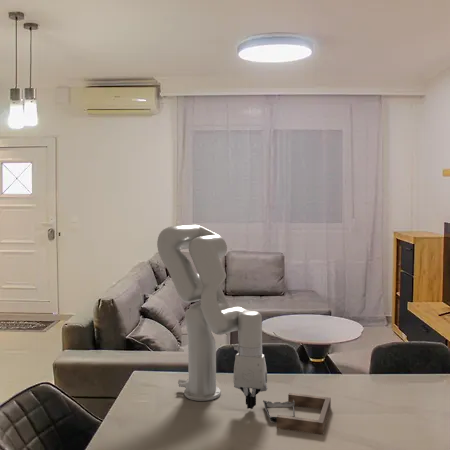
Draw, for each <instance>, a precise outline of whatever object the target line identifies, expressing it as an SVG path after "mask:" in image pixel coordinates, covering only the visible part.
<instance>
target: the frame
mask: <svg viewBox="0 0 450 450" xmlns="http://www.w3.org/2000/svg"><path fill="white" fill-rule="evenodd" d="M287 397H288V398H287V401H288V402H291V403H293V400H294V407H295V406H296V407H300V408H301V407H303V408H310V409H318V410H321V411H320V414H319V417H318V419H314V418H313V419H311V418H307V417H306V418H305V417H299V416H298V417H297V416H295V417H291V416H292V415H282V414H277V416H276V417H277V423H276V429H278V430H279V429H280V430H286V431H293V432H300V433H307V434H314V435H322V436H323V435H324V432H325V428H326V426H327V422H328V420H329V419H328V418H329V415H330V412H331V409H332V407H331V405H332V404H331V401H332V399H331V397H329V396H320V395H310V394H302V393H293V392H288V395H287Z"/></svg>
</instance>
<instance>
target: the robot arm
mask: <svg viewBox="0 0 450 450" xmlns="http://www.w3.org/2000/svg"><path fill="white" fill-rule="evenodd" d="M156 248H157V252H158V255H159V257H160V260H161V261H162V262H163V264H164V266H165V267H166V269H167V271H168V273H169V276H170V278H171V281H172V283H173V285H174V288H175V290H176V292H177V295H178V296H179V299H180V300H181V301H182V302H184V303H187V304H188V303H189V304H190V303H194V302H195V304H193V305H191V306H190V307H189V308H188V309H187V310H186V311H185V315H184V322H185V324H184V325H185V327H186V334H187V353H188V354H187V355H188V367H187V368H188V371H187V372H188V378H187V379H182V378H179V379H178V380H177V381H178V382H177V383H178V387H179V388H185V389H184V390H183V391H184V393H183V394H184V397H185V398H187V399H189V400H191V401H196V402H206V401H207V402H208V401H212V400H214V399H218V398H219V397H221V394H222V391H221V388H219V386H217V345H216V339H215V337H214V335H218V336H222V335H225V334H229V333H232V332H237V331H238V332H237V333H238V334H237V335H238V337H237V341H238V342H237V343H238V344H237V345H234V346H233V349H234V351H237V353H236V354H235V358H234V366H233V377H232V378H233V381H232V382H233V387H234V388H235V389H238V390H240V391H241V392H243V395H244V396H245V405H246V409H247V410H249V409H250V410H252V409H254V407H255V406H256V405H257V395H258V394H259V393H260V392H266V391H267V390H268V384H267V383H268V371H267V369H268V368H267V364H266V358H265V354H263V318H262V317H263V315H262V314H261V313H260V312H259V311H257V310H248V309H245V308H243V307H241V306H232V307H231V306H230V304H229V302H228V300H227V298H226V295H225V294H224V292H223V290H222V287H221V284H222V283H223V282H224V281H225V279H226V278H227V274H226V271H225V269H224V266H223V264H222V262H221V260H220V259H221V258H224V257H225V256H226V254H227V251H228V246H227V243H226V241H225V239H224V237H222V236H221V235H220V234H218V233H216V232H213V231H212V230H209V229H207V228H206V227H204V226H201V225H198V224H186V225H184V224H183V225H173V226H168V227H166V228H163V229H162V230H161V231H160V233H159V234H158V237H157V240H156ZM181 250H188V252H189V255H190V257H191V260H192V262H191V261H190V259H189V258H188V256H187V255H185V254H184V253H183V252H182V251H181ZM192 263H193V264H194V267H195V268H194V267H193V264H192ZM195 269H196V271H197V272H196V271H195ZM199 301H200V303H196V302H199ZM213 333H214V335H213Z"/></svg>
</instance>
